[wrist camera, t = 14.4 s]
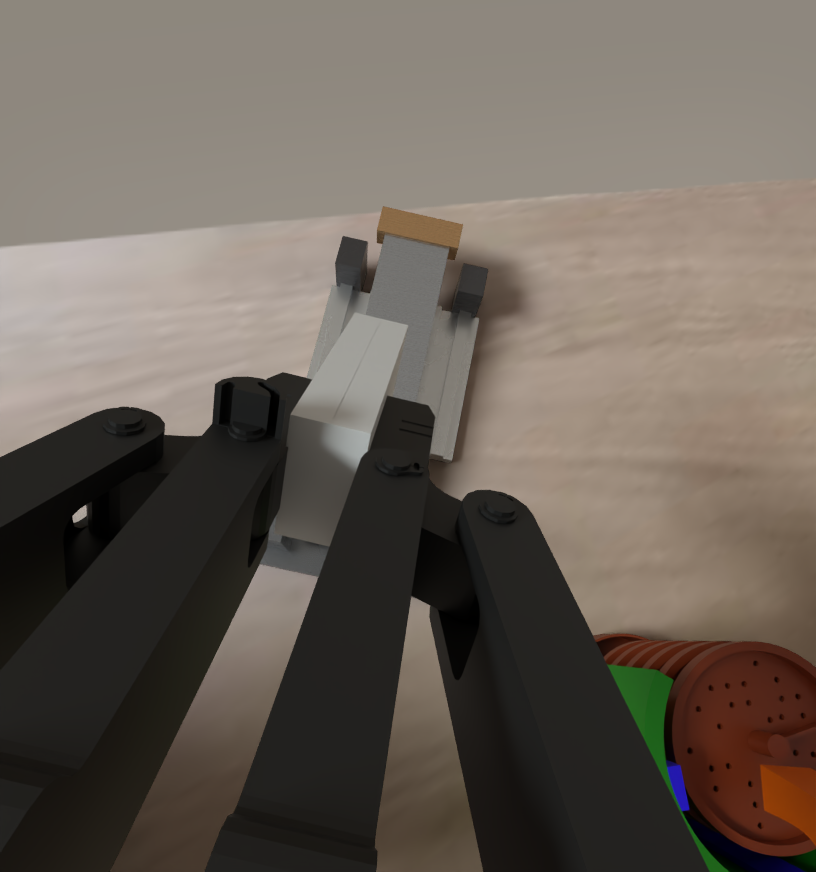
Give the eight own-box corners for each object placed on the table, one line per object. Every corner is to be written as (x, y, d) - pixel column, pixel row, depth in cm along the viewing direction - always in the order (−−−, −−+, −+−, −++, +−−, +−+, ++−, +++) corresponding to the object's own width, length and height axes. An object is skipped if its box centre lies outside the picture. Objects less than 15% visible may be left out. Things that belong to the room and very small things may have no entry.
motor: (681, 624, 38) (1013, 623, 19) (716, 790, 35) (1141, 984, 16) (516, 643, 37) (689, 661, 18) (541, 814, 34) (773, 1054, 15)
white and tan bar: (392, 556, 36) (460, 241, 40) (393, 556, 34) (465, 221, 38) (304, 537, 36) (380, 222, 40) (299, 536, 34) (381, 202, 38)
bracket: (489, 299, 43) (505, 258, 38) (432, 601, 37) (443, 598, 32) (332, 263, 43) (329, 218, 38) (249, 561, 37) (233, 552, 32)
